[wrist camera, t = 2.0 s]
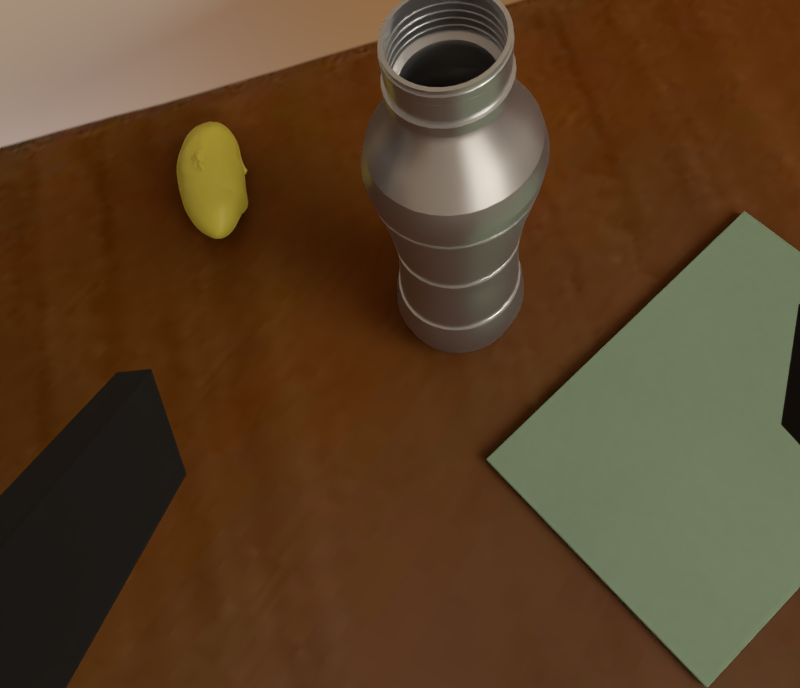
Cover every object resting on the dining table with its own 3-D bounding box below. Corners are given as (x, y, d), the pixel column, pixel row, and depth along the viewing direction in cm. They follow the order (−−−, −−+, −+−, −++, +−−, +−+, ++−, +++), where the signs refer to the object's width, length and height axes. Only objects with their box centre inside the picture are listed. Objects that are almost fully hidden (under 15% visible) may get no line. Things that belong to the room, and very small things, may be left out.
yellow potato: (254, 137, 41) (232, 96, 37) (258, 247, 38) (235, 216, 35) (191, 147, 41) (164, 108, 38) (191, 257, 39) (161, 227, 35)
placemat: (485, 460, 33) (485, 459, 33) (741, 214, 36) (744, 210, 35) (704, 686, 29) (707, 688, 28) (977, 389, 31) (983, 387, 31)
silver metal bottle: (381, 294, 37) (279, 22, 18) (479, 234, 37) (482, -94, 18) (441, 386, 34) (397, 187, 16) (545, 321, 35) (625, 52, 16)
